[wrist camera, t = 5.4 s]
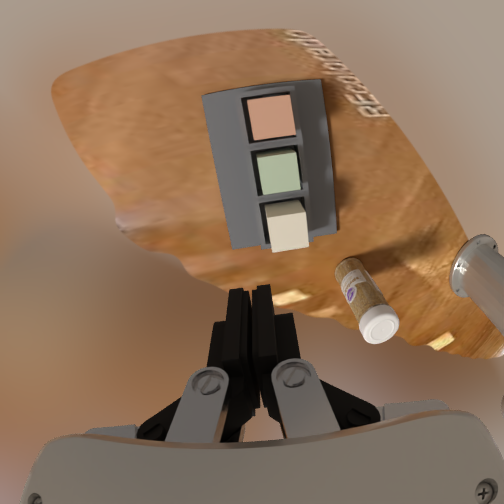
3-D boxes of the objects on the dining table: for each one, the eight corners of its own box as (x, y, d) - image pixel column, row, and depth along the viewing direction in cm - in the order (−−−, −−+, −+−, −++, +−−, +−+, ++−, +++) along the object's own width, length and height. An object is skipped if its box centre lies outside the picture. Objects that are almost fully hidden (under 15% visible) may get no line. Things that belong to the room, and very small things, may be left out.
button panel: (319, 79, 30) (327, 76, 26) (335, 231, 38) (343, 242, 35) (202, 95, 30) (197, 93, 27) (232, 247, 39) (231, 260, 36)
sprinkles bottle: (336, 256, 40) (369, 316, 28) (365, 256, 40) (405, 312, 28) (331, 284, 42) (359, 347, 30) (359, 283, 42) (393, 343, 30)
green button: (289, 147, 32) (296, 152, 28) (294, 180, 34) (300, 189, 30) (255, 152, 33) (257, 158, 29) (261, 185, 34) (263, 194, 30)
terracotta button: (283, 97, 28) (289, 94, 24) (289, 132, 30) (296, 134, 26) (247, 102, 29) (247, 100, 25) (253, 137, 30) (254, 140, 26)
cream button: (298, 199, 34) (305, 212, 30) (301, 230, 35) (309, 246, 31) (264, 204, 34) (267, 217, 30) (269, 235, 36) (272, 252, 32)
